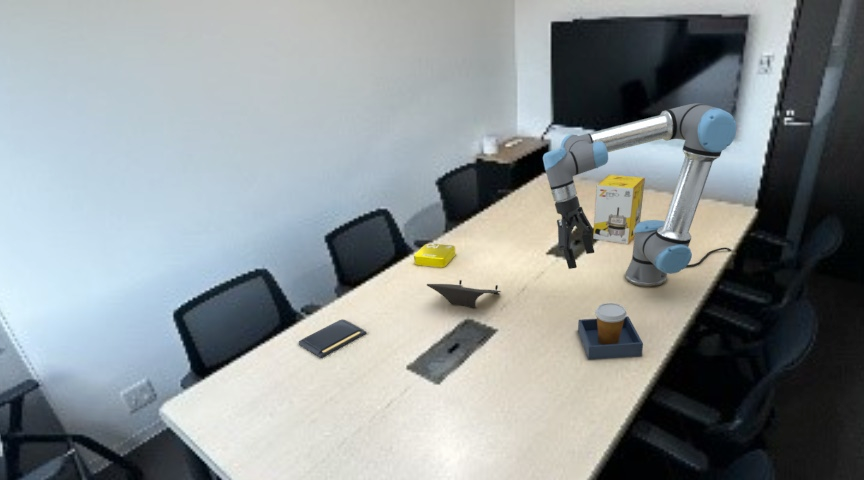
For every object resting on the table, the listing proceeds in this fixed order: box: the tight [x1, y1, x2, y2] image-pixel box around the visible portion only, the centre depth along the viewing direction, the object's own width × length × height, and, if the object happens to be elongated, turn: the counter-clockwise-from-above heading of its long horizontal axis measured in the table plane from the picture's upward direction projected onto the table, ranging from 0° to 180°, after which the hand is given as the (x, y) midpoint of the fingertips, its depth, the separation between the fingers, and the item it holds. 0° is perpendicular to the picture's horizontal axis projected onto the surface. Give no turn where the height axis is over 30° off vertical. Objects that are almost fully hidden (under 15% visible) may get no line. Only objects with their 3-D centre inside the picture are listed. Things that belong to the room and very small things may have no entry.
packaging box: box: [592, 174, 646, 245], centre depth 242 cm, size 16×16×25 cm
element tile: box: [413, 243, 457, 268], centre depth 240 cm, size 15×15×5 cm
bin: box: [577, 315, 644, 361], centre depth 174 cm, size 17×17×5 cm
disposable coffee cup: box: [594, 302, 628, 345], centre depth 172 cm, size 10×10×12 cm
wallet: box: [298, 319, 367, 359], centre depth 190 cm, size 20×2×15 cm
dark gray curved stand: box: [426, 279, 502, 309], centre depth 204 cm, size 23×23×9 cm
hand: (581, 260), depth 180 cm, fingers open, 13 cm apart
